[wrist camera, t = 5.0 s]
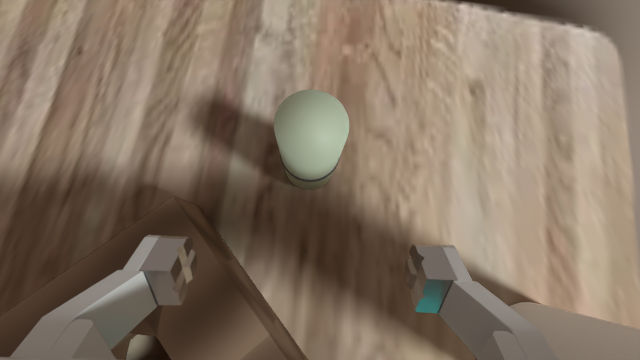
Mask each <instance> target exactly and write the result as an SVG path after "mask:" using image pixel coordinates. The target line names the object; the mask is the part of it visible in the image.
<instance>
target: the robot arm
mask: <svg viewBox="0 0 640 360" xmlns="http://www.w3.org/2000/svg"><path fill="white" fill-rule="evenodd" d="M193 245H194V244H193V241H192V238H190V237H181V236H164V235H162V236H159V235H147V236H146V237H144V239H143V240H142V241H141V243H140V244H139V246H138V247H137V249H136V250H135V252H134V253H133V255H132V256H131V258H130V259H129V261H128V262H127V264H126V265H125V267H124V268H123V270H117V271H116V272H114V273H112V274H111V275H109V276H108V277H106V278H104V279H103V280H101V281H100V282H98V283H96V284H95V285H93V286H91V287H90V288H88V289H87V290H85V291H83V292H82V293H80V294H79V295H77V296H75V297H74V298H72V299H71V300H69V301H67V302H66V303H64V304H62V305H61V306H59V307H58V308H56V309H54V310H53V311H51V312H50V313H48V314H46V315H45V316H43V317H42V318H41V319H40V321H39V322H38V323H37V324H36V325H35V327H34V328H33V329H32V330H31V332H30V333H29V334H28V335H27V337H26V338H25V339H24V340H23V341H22V343H21V344H20V345H19V346H18V348H17V349H16V350H15V351H14V353H13V354H12V355H11V356H10V357H0V360H117V359H116V358H115V356H114V354H113V353H112V351H111V349H112V348H113V347H114V346H115V345H116V344H117V343H118V342H119V341H120V340H122V339H123V338H124V337H125V336H126V335H127V334H128V333H129V332H130V331H131V330H132V329H133V328H135V327H136V326H137V325H138V324H139V323H140V322H141V321H142V320H143V319H144V318H145V317H146V316H148V315H149V314H150V313H151V312H152V311H153V310H154V309H155V308H156V307H157V305H182V303H183V301H184V299H185V296H186V294H187V291H188V285H187V283H188V282H189V281H190V280H192V279H193V277H194V275H195V272H196V267H197V256H196V253H195V252H194V251H193V250H192V247H193ZM409 252H410V255H411V257H410V258H409V259H408V260H407V262H406V266H405V277H406V282H407V285H408V286H409V287H410V288H411V289H412V292H411V295H410V296H411V300H412V303H413V307H414V310H415V312H424V313H439V314H438V315H439V316H440V317H441V318H442V319H443V320H444V322H445V323H446V324H447V325H448V326H449V327H450V328H451V330H452V331H453V332H454V333H455V334H456V335H457V336H458V337H459V339H460V340H461V341H462V342H463V343H464V344H465V345H466V347H467V348H468V349H469V350H470V351H471V352H472V353H473V355H474V356H475V357H476V358H477V359H476V360H558V358H557V357H556V355H555V354H554V352H553V350H552V349H551V347H550V345H549V344H548V342H547V341H546V339H545V337H544V336H543V334H542V332H541V331H540V330H539V329H537V328H536V327H535V326H533V325H532V324H531V323H530V322H528V321H527V320H526V319H524V318H523V317H522V316H520V315H519V314H518V313H517V312H515V311H514V310H513V309H511V308H510V307H509V306H508V305H506V304H505V303H504V302H502V301H501V300H500V299H499V298H497V297H496V296H495V295H493V294H492V293H491V292H490V291H488V290H487V289H486V288H484V287H483V286H482V285H481V284H479V283H478V282H476V281H472V279H471V277H470V275H469V273H468V271H467V269H466V267H465V265H464V263H463V261H462V259H461V257H460V255H459V253H458V251H457V249H456V248H455V247H454V246H450V245H412V246H411V248H410V251H409Z"/></svg>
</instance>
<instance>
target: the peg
mask: <svg viewBox="0 0 640 360" xmlns="http://www.w3.org/2000/svg"><path fill="white" fill-rule="evenodd" d="M274 132H275V136H276V140H277V143H278V147H279V151H280V157H281V161H282V164H283V166H284V169H285V172H286V175H287V177H288V178H289V180H290V181H291V182H292V183H293V184H294V185H296V186H297V187H299V188H302V189H309V190H310V189H317V188H320V187H322V186H323V185H325V184H326V183H327V182H328V181H329V180H330V178H331V177H332V175H333V172H334V170H335V168H336V166H337V164H338V162H339V159H340V155H341V152H342V150H343V147H344V144H345V142H346V139H347V137H348V133H349V119H348V115H347V112H346V110H345V108H344V107H343V105H342V104H341V103H340V102H339V101H338V100H337V99H336V98H335V97H333V96H332V95H330V94H328V93H326V92H323V91H319V90H303V91H299V92H296V93H294V94H292V95H291V96H289V97H288V98H286V99H285V100H284V101H283V102H282V103H281V105H280V106H279V108H278V109H277V112H276V114H275V118H274Z"/></svg>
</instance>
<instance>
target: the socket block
mask: <svg viewBox="0 0 640 360" xmlns="http://www.w3.org/2000/svg"><path fill="white" fill-rule="evenodd" d="M147 235H159V236H162V235H164V236H181V237H190V238H192V241H193V244H194V245H193V247H192V250H193V251H194V252H195V253H196V256H197V267H196V272H195V275H194V277H193V279H192V280H190V281H189V282H188V283H187V285H188V291H187V294H186V296H185V299H184V301H183V303H182V305H157V307H156V308H155V309H154V310H153V311H152V312H151V313H150V314H149V315H148V316H146V317H145V318H144V319H143V320H142V321H141V322H140V323H139V324H138V325H137V326H136V327H135V328H133V329H132V330H131V331H130V332H129V333H128V334H127V335H126V336H125V337H124V338H123V339H122V340H120V341H119V342H118V343H117V344H116V345H115V346H114V347H113V348H112V349H111V351H112V353H113V354H114V356H115V358H116V359H117V360H125V359H126V355H127V351H128V347H129V342H130V340H131V339H132V338H133V337H134V336H136V335H137V334H140V335H149V336H156V337H157V338H158V340H159V341H160V343H161V345H162V346H163V348H164V349H165V351H166V352H167V354H168V356H169V357H170V359H171V360H308V359H307V358H306V356H305V355H304V354H303V352H302V351H301V349H300V348H299V346H298V345H297V344H296V342H295V341H294V339H293V338H292V337H291V335H290V334H289V332H288V331H287V330H286V328H285V327H284V325H283V324H282V323H281V321H280V320H279V318H278V317H277V315H276V314H275V313H274V311H273V310H272V308H271V307H270V306H269V304H268V303H267V301H266V300H265V299H264V297H263V296H262V294H261V293H260V291H259V290H258V289H257V287H256V286H255V284H254V283H253V282H252V280H251V279H250V277H249V276H248V275H247V273H246V272H245V270H244V269H243V268H242V266H241V265H240V263H239V262H238V260H237V259H236V258H235V256H234V255H233V253H232V252H231V251H230V249H229V248H228V246H227V245H226V244H225V242H224V241H223V239H222V238H221V236H220V235H219V234H218V232H217V231H216V229H215V228H214V227H213V225H212V224H211V222H210V221H209V220H208V218H207V217H206V215H205V214H204V212H203V211H202V210H201V208H200V207H199V206H198V205H195V204H192V203H190V202H187V201H184V200H182V199H179V198H176V197H171V198H170V199H168V200H167V201H165V202H164V203H162V204H161V205H160V206H158V207H157V208H155V209H154V210H152V211H151V212H150V213H148V214H147V215H145V216H144V217H142V218H141V219H139V220H138V221H137V222H135V223H134V224H132V225H131V226H129V227H128V228H126V229H125V230H124V231H122V232H121V233H119V234H118V235H116V236H115V237H113V238H112V239H111V240H109V241H108V242H106V243H105V244H103V245H102V246H101V247H99V248H98V249H96V250H95V251H93V252H92V253H90V254H89V255H88V256H86V257H85V258H83V259H82V260H80V261H79V262H77V263H76V264H75V265H73V266H72V267H70V268H69V269H67V270H66V271H64V272H63V273H62V274H60V275H59V276H57V277H56V278H54V279H53V280H52V281H50V282H49V283H47V284H46V285H44V286H43V287H41V288H40V289H39V290H37V291H36V292H34V293H33V294H31V295H30V296H28V297H27V298H26V299H24V300H23V301H21V302H20V303H18V304H17V305H15V306H14V307H13V308H11V309H10V310H8V311H7V312H5V313H4V314H3V315H1V316H0V357H10V356H11V355H12V354H13V353H14V351H15V350H16V349H17V348H18V346H19V345H20V344H21V343H22V341H23V340H24V339H25V338H26V337H27V335H28V334H29V333H30V332H31V330H32V329H33V328H34V327H35V325H36V324H37V323H38V322H39V321H40V319H41V318H42V317H43V316H45V315H46V314H48V313H50V312H51V311H53V310H54V309H56V308H58V307H59V306H61V305H62V304H64V303H66V302H67V301H69V300H71V299H72V298H74V297H75V296H77V295H79V294H80V293H82V292H83V291H85V290H87V289H88V288H90V287H91V286H93V285H95V284H96V283H98V282H100V281H101V280H103V279H104V278H106V277H108V276H109V275H111V274H112V273H114V272H116V271H117V270H123V268H124V267H125V265H126V264H127V262H128V261H129V259H130V258H131V256H132V255H133V253H134V252H135V250H136V249H137V247H138V246H139V244H140V243H141V241H142V240H143V239H144V237H146V236H147Z"/></svg>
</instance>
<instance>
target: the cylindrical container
mask: <svg viewBox="0 0 640 360" xmlns="http://www.w3.org/2000/svg"><path fill="white" fill-rule="evenodd" d="M509 307H510V308H511V309H513V310H514V311H515V312H517V313H518V314H519V315H520V316H522V317H523V318H524V319H526V320H527V321H528V322H530V323H531V324H532V325H533V326H535V327H536V328H537V329H539V330H540V331H541V332H542V334H543V336H544V337H545V339H546V341H547V342H548V344H549V345H550V347H551V349H552V350H553V352H554V354H555V355H556V357H557V358H558V360H640V329H637V328H633V327H629V326H625V325H621V324H617V323H613V322H609V321H605V320H601V319H597V318H593V317H590V316H586V315H582V314H578V313H574V312H570V311H566V310H562V309H558V308H554V307H550V306H546V305H542V304H538V303H532V302H520V303H516V304H513V305H511V306H509Z"/></svg>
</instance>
